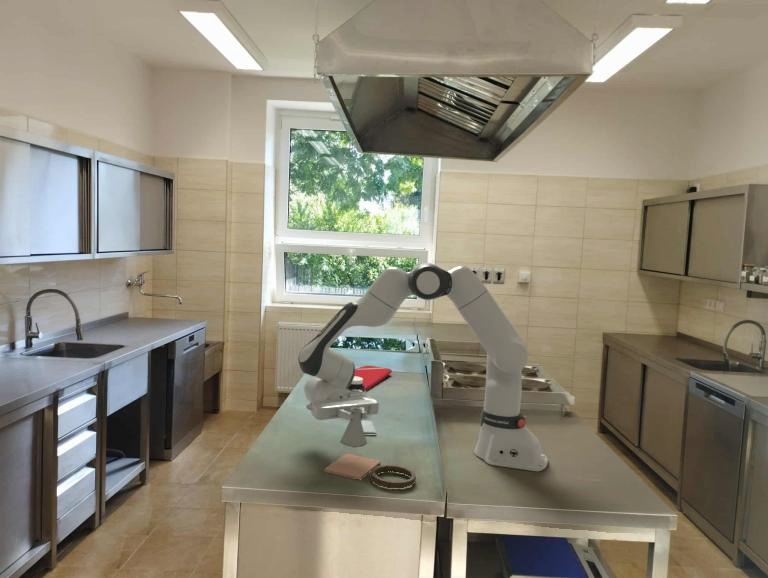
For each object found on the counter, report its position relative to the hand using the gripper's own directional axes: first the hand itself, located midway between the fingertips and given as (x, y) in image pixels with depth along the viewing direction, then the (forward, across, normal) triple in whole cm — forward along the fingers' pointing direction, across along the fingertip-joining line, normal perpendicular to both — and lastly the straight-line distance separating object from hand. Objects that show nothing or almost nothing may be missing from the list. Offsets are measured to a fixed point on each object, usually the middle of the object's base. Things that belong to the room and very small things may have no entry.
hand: (358, 416), depth 173 cm
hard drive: (-29, +19, +16) cm, 38 cm away
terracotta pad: (-1, 0, +15) cm, 15 cm away
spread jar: (-48, +26, +16) cm, 57 cm away
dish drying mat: (-84, +49, +16) cm, 98 cm away
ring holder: (+11, +6, +15) cm, 20 cm away
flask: (-1, 0, +8) cm, 8 cm away
